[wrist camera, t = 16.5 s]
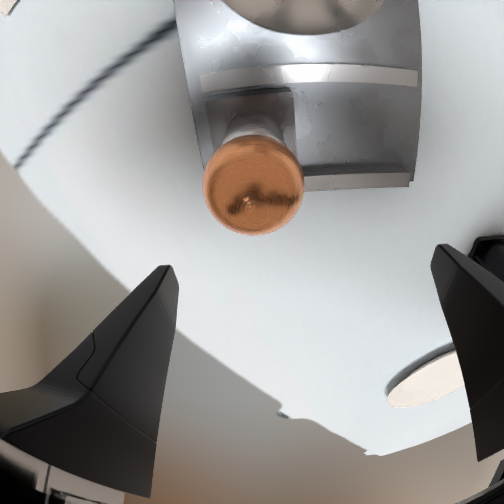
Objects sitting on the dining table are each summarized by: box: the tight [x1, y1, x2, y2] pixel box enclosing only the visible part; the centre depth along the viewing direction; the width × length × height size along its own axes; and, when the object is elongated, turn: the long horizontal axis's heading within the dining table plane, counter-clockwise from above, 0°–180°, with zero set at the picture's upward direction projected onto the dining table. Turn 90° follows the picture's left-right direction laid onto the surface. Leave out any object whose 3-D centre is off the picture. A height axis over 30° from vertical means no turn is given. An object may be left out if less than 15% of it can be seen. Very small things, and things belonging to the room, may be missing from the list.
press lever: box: [203, 88, 305, 235], centre depth 12 cm, size 4×5×9 cm
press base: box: [173, 0, 422, 192], centre depth 12 cm, size 14×20×3 cm
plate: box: [386, 350, 464, 408], centre depth 40 cm, size 21×21×2 cm
